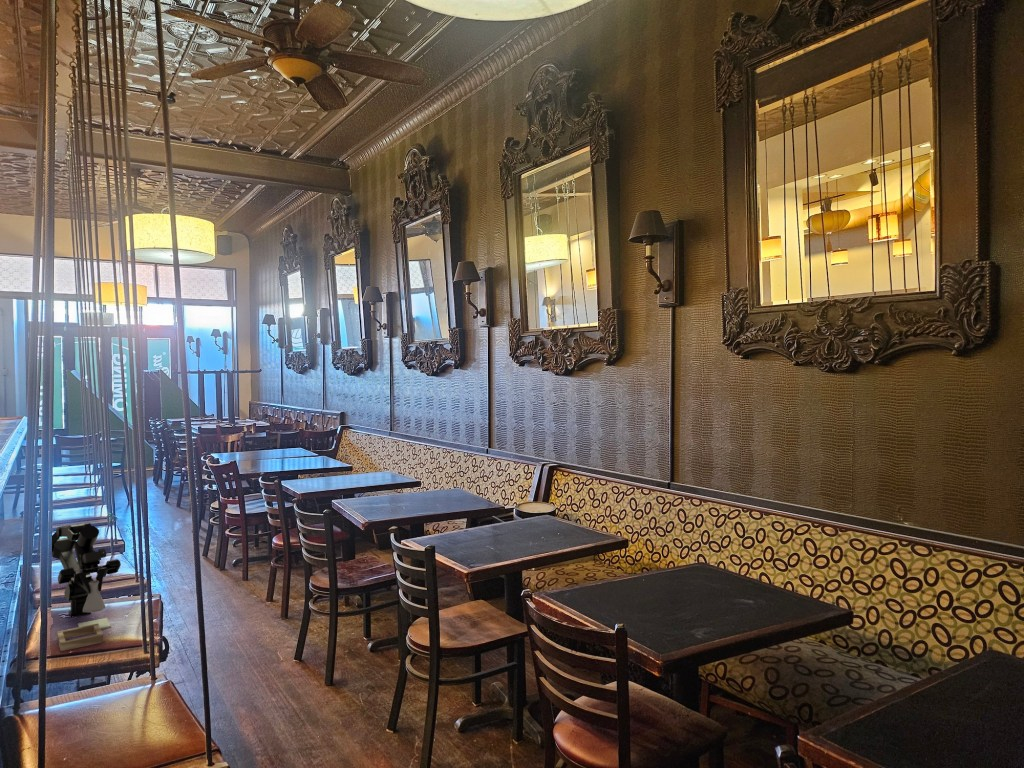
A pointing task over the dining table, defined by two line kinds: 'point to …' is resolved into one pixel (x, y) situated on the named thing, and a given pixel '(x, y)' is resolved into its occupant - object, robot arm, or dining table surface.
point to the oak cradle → (80, 641)
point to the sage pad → (102, 623)
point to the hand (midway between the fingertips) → (95, 591)
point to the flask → (94, 599)
